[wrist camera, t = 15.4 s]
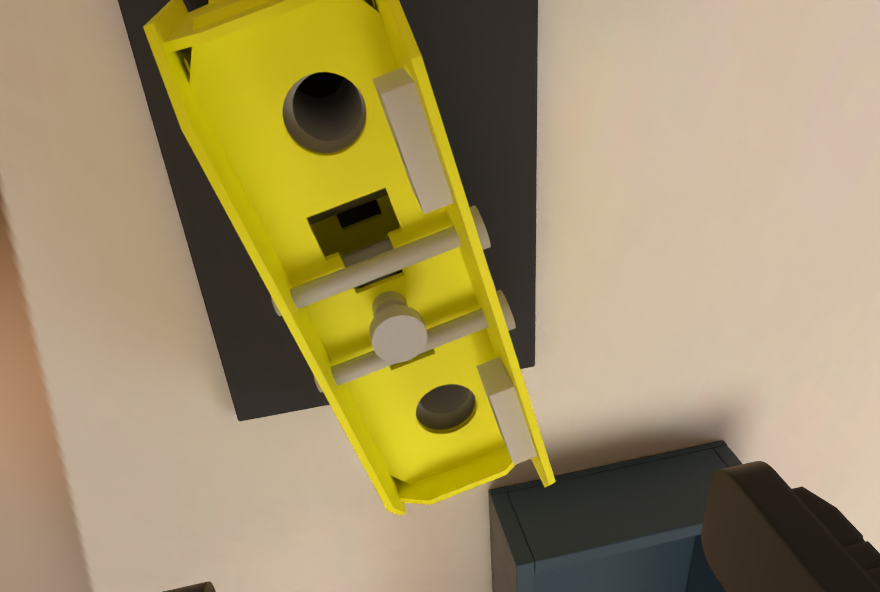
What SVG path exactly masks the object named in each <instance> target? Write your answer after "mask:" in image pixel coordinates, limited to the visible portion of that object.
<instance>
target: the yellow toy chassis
mask: <svg viewBox="0 0 880 592" xmlns="http://www.w3.org/2000/svg"><path fill="white" fill-rule="evenodd" d="M143 28H144V31H145V33H146V36H147V39H148V41H149V44H150V47H151V49H152V52H153V55H154V58H155V60H156V63H157V66H158V68H159V71H160V74H161V76H162V79H163V82H164V84H165V87H166V90H167V92H168V95H169V98H170V100H171V103H172V106H173V108H174V111H175V114H176V116H177V119H178V122H179V124H180V127H181V130H182V132H183V133H184V135H185V137H186V139H187V141H188V143H189V145H190V146H191V148H192V150H193V152H194V154H195V156H196V157H197V159H198V161H199V163H200V165H201V167H202V169H203V170H204V172H205V174H206V176H207V178H208V180H209V182H210V183H211V185H212V187H213V189H214V191H215V193H216V195H217V196H218V198H219V200H220V202H221V204H222V206H223V207H224V209H225V211H226V213H227V215H228V217H229V219H230V220H231V222H232V224H233V226H234V228H235V230H236V232H237V233H238V235H239V237H240V239H241V241H242V243H243V245H244V246H245V248H246V250H247V252H248V254H249V256H250V257H251V259H252V261H253V263H254V265H255V267H256V269H257V270H258V272H259V274H260V276H261V278H262V280H263V282H264V283H265V285H266V287H267V289H268V291H269V293H270V294H271V300H272V303H273V306H274V309H275V311H276V313H277V314H278V315H279V316H282V317H283V319H284V320H285V322H286V324H287V326H288V328H289V330H290V332H291V333H292V335H293V337H294V339H295V341H296V343H297V344H298V346H299V348H300V350H301V352H302V354H303V356H304V357H305V359H306V361H307V363H308V365H309V367H310V369H311V370H312V372H313V374H314V380H315V383H316V386H317V388H318V390H319V391H320V392H323V393H324V394H325V396H326V398H327V400H328V402H329V404H330V406H331V407H332V409H333V411H334V413H335V415H336V417H337V419H338V420H339V422H340V424H341V426H342V428H343V430H344V432H345V433H346V435H347V437H348V439H349V441H350V443H351V444H352V446H353V448H354V450H355V452H356V454H357V456H358V457H359V459H360V461H361V463H362V465H363V467H364V469H365V470H366V472H367V474H368V476H369V478H370V480H371V481H372V483H373V485H374V487H375V489H376V491H377V493H378V494H379V496H380V498H381V500H382V502H383V504H384V506H385V507H386V509H387V511H389V512H392V513H395V514H397V515H400V516H401V515H403V514H406V509H405V505H404V503H415V504H427V505H432V504H434V503H437V502H439V501H442V500H444V499H447V498H449V497H452V496H454V495H457V494H459V493H462V492H464V491H467V490H470V489H472V488H475V487H477V486H480V485H482V484H485V483H487V482H490V481H492V480H495V479H497V478H500V477H502V476H505V475H507V474H508V473H509V471H510V470H511V469H512V468H513V467H514V466H515V465H516V464H518V463H521V462H523V461H526V460H528V459H531V460H532V462H533V464H534V466H535V468H536V470H537V472H538V475H539V477H540V479H541V481H542V483H543V485H544V487H547V486H549V485H551V484H553V483H555V482H556V481H555V478H554V474H553V471H552V468H551V465H550V462H549V458H548V455H547V452H546V449H545V446H544V443H543V439H542V436H541V433H540V430H539V427H538V424H537V420H536V417H535V414H534V411H533V408H532V405H531V401H530V398H529V395H528V392H527V389H526V385H525V382H524V379H523V376H522V373H521V370H520V366H519V363H518V360H517V357H516V354H515V351H514V347H513V344H512V341H511V338H510V335H509V332H508V331H510V330H512V329H515V328H516V326H515V322H514V318H513V315H512V312H511V310H510V307H509V305H508V302H507V300H506V298H505V296H504V294H503V292H502V291H501V290H498V291H496V288H495V285H494V282H493V279H492V277H491V274H490V271H489V268H488V265H487V262H486V259H485V255H484V252H483V250H484V249H487V248H489V247H491V245H490V240H489V236H488V233H487V230H486V227H485V225H484V222H483V220H482V217H481V215H480V213H479V211H478V209H477V207H476V206H475V205H474V206H472V207H469V205H468V201H467V198H466V195H465V192H464V189H463V186H462V182H461V179H460V176H459V173H458V170H457V167H456V163H455V160H454V157H453V154H452V151H451V147H450V144H449V141H448V138H447V135H446V132H445V128H444V125H443V122H442V119H441V116H440V113H439V109H438V106H437V103H436V100H435V97H434V94H433V90H432V87H431V84H430V81H429V78H428V75H427V71H426V68H425V65H424V62H423V59H422V55H421V53H420V51H419V48H418V46H417V43H416V41H415V38H414V36H413V33H412V31H411V28H410V26H409V24H408V21H407V19H406V16H405V14H404V11H403V9H402V6H401V4H400V1H399V0H209V2H208V4H207V5H205V6H203V7H200V8H198V9H196V10H193V11H191V12H188V10H187V8H186V6H185V4H184V2H183V0H170V1H169V2H168V3H167V4H166V5H165V6H164V7H163V8H162V9H161V10H160V11H159V12H158V13H157V14H156V15H155V16H154V17H153V18H152V19H151V20H150V21H149V22H147V23H146V24H145V25H144V26H143ZM318 72H330V73H335V74H338V75H340V76H343V77H344V80H343V82H342V84H341V86H340V87H339V88H338V89H337V90H336V91H335V92H334V93H332V94H331V95H328V96H326V97H319V98H317V97H311V96H308V95H305V94H304V93H302V92H301V91H299V90H298V89H297V87H298V86H299V85H300V83H301V82H302V81H303V80H304V79H306V78H307V77H308V76H310V75H312V74H315V73H318ZM373 200H377V202H378V205H379V207H380V210H381V212H382V213H381V214H378V215H375V216H373V217H370V218H368V219H365V220H362V221H360V222H357V223H355V224H352V225H349V226H347V227H344V228H342V227H341V224H340V222H339V220H338V217H337V214H339V213H342V212H345V211H347V210H350V209H352V208H355V207H358V206H360V205H363V204H365V203H368V202H371V201H373ZM400 270H402V271H403V272H401V273H399V274H397V271H400Z"/></svg>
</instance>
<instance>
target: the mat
mask: <svg viewBox="0 0 880 592" xmlns="http://www.w3.org/2000/svg"><path fill="white" fill-rule="evenodd" d="M169 1H170V0H118V2H119V6H120V9H121V13H122V16H123V20H124V23H125V27H126V30H127V34H128V37H129V41H130V44H131V48H132V51H133V55H134V58H135V62H136V65H137V69H138V72H139V76H140V79H141V83H142V86H143V90H144V93H145V97H146V100H147V104H148V107H149V111H150V114H151V118H152V121H153V125H154V128H155V132H156V135H157V139H158V142H159V146H160V149H161V153H162V156H163V160H164V163H165V167H166V170H167V173H168V177H169V180H170V184H171V187H172V191H173V194H174V198H175V201H176V205H177V208H178V212H179V215H180V219H181V222H182V226H183V229H184V233H185V236H186V240H187V243H188V247H189V250H190V254H191V257H192V261H193V264H194V268H195V271H196V275H197V278H198V282H199V285H200V289H201V292H202V296H203V299H204V303H205V306H206V310H207V313H208V317H209V320H210V324H211V327H212V331H213V334H214V338H215V341H216V345H217V348H218V352H219V355H220V359H221V362H222V366H223V369H224V372H225V376H226V379H227V383H228V386H229V390H230V393H231V397H232V400H233V404H234V407H235V411H236V414H237V418H238V420H239V421H244V420H249V419H255V418H260V417H266V416H271V415H276V414H282V413H287V412H292V411H298V410H303V409H308V408H314V407H319V406H324V405H330V404H329V402H328V400H327V398H326V396H325V394H324V393H323V392H320V391H319V390H318V388H317V386H316V383H315V380H314V374H313V372H312V370H311V369H310V367H309V365H308V363H307V361H306V359H305V357H304V356H303V354H302V352H301V350H300V348H299V346H298V344H297V343H296V341H295V339H294V337H293V335H292V333H291V332H290V330H289V328H288V326H287V324H286V322H285V320H284V319H283V317H282V316H279V315H278V314H277V313H276V311H275V309H274V306H273V303H272V300H271V294H270V293H269V291H268V289H267V287H266V285H265V283H264V282H263V280H262V278H261V276H260V274H259V272H258V270H257V269H256V267H255V265H254V263H253V261H252V259H251V257H250V256H249V254H248V252H247V250H246V248H245V246H244V245H243V243H242V241H241V239H240V237H239V235H238V233H237V232H236V230H235V228H234V226H233V224H232V222H231V220H230V219H229V217H228V215H227V213H226V211H225V209H224V207H223V206H222V204H221V202H220V200H219V198H218V196H217V195H216V193H215V191H214V189H213V187H212V185H211V183H210V182H209V180H208V178H207V176H206V174H205V172H204V170H203V169H202V167H201V165H200V163H199V161H198V159H197V157H196V156H195V154H194V152H193V150H192V148H191V146H190V145H189V143H188V141H187V139H186V137H185V135H184V133H183V132H182V130H181V127H180V124H179V122H178V119H177V116H176V114H175V111H174V108H173V106H172V103H171V100H170V98H169V95H168V92H167V90H166V87H165V84H164V82H163V79H162V76H161V74H160V71H159V68H158V66H157V63H156V60H155V58H154V55H153V52H152V49H151V47H150V44H149V41H148V39H147V36H146V33H145V31H144V28H143V26H144V25H145V24H146V23H147V22H149V21H150V20H151V19H152V18H153V17H154V16H155V15H156V14H157V13H158V12H159V11H160V10H161V9H162V8H163V7H164V6H165V5H166V4H167V3H168V2H169ZM399 1H400V4H401V6H402V9H403V11H404V14H405V16H406V19H407V21H408V24H409V26H410V28H411V31H412V33H413V36H414V38H415V41H416V43H417V46H418V48H419V51H420V53H421V55H422V59H423V62H424V65H425V68H426V71H427V75H428V78H429V81H430V84H431V87H432V90H433V94H434V97H435V100H436V103H437V106H438V109H439V113H440V116H441V119H442V122H443V125H444V128H445V132H446V135H447V138H448V141H449V144H450V147H451V151H452V154H453V157H454V160H455V163H456V167H457V170H458V173H459V176H460V179H461V182H462V186H463V189H464V192H465V195H466V198H467V201H468V205H469V207H472V206H474V205H475V206H476V207H477V209H478V211H479V213H480V215H481V217H482V220H483V222H484V225H485V227H486V230H487V233H488V236H489V240H490V245H491V247H489V248H487V249H484V250H483V252H484V255H485V259H486V262H487V265H488V268H489V271H490V274H491V277H492V279H493V282H494V285H495V288H496V291H498V290H501V291H502V292H503V294H504V296H505V298H506V300H507V302H508V305H509V307H510V310H511V312H512V315H513V318H514V322H515V326H516V328H515V329H512V330H510V331H508V332H509V335H510V338H511V341H512V344H513V347H514V351H515V354H516V357H517V360H518V363H519V366H520V369H523V368H528V367H533V366H535V278H536V159H537V41H538V0H399ZM183 2H184V4H185V6H186V8H187V10H188V12H191V11H193V10H196V9H198V8H200V7H203V6H205V5H207V4H208V2H209V0H183ZM343 80H344V77H343V76H340V75H338V74H335V73H330V72H318V73H315V74H312V75H310V76H308V77H307V78H306V79H304V80H303V81H302V82H301V83H300V85H299V86H298V87H297V89H298V90H299V91H301V92H302V93H304V94H305V95H308V96H311V97H317V98H319V97H326V96H328V95H331V94H332V93H334V92H335V91H336V90H337V89H338V88H339V87H340V86H341V84H342V82H343ZM381 213H382V212H381V210H380V207H379V205H378V202H377V200H373V201H371V202H368V203H365V204H363V205H360V206H358V207H355V208H352V209H350V210H347V211H345V212H342V213H339V214H337V217H338V220H339V222H340V224H341V227H342V228H344V227H347V226H349V225H352V224H355V223H357V222H360V221H362V220H365V219H368V218H370V217H373V216H375V215H378V214H381ZM401 272H403V271H402V270H400V271H397V274H399V273H401Z"/></svg>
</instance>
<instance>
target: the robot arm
mask: <svg viewBox="0 0 880 592" xmlns="http://www.w3.org/2000/svg"><path fill="white" fill-rule="evenodd" d="M701 540H702V546H703V550H704V554H705V557H706V559H707V562H708V564H709V566H710V568H711V570H712V571H713V573H714V574H715V576H716V577H717V579H718V580H719V582H720V583H721V585H722V586H723V588H724V589H725V591H726V592H880V553H879V552H878V551H877V550H876V549H875V548H874V547H873V546H872V545H871V544H870V543H869V542H868V541H867V542H865V541H864V539H863V535H862V534H861V533H860V532H859V531H858V530H857V529H856V528H855V527H854V526H853V525H852V524H851V523H850V522H849V521H848V520H847V519H846V517H845V516H844V515H843V514H842V513H841V512H840V511H839V510H838V509H837V508H836V507H834V506H833V505H831V504H829V503H828V502H826V501H825V500H823V499H821V498H820V497H818V496H817V495H815V494H813V493H812V492H810V491H809V490H807V489H805V488H804V487H799V488H794V489H791V488H790V487H789V486H788V485H787V484H786V482H785V481H784V480H783V479H782V478H781V477H780V476H779V475H778V474H777V472H776V471H775V470H774V469H773V468H772V467H771V466H769V465H768V464H767V463H765V462H762V461H756V462H751V463H747V464H742V465H738V466H734V467H729V468H725V469H720V470H717V471H715V472H714V473H713V475H712V478H711V483H710V488H709V494H708V499H707V504H706V509H705V515H704V520H703V525H702V531H701ZM164 592H215V589H214V587H213V585H212V583H211V582H204V583H200V584H195V585H191V586H186V587H182V588H177V589H173V590H168V591H164Z"/></svg>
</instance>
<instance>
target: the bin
mask: <svg viewBox="0 0 880 592" xmlns="http://www.w3.org/2000/svg"><path fill="white" fill-rule="evenodd" d="M738 465H742V463H741V461H740V460H739V459H738V458H737V457H736V456H735V454H734V453H733V452H732V451H731V450H730V448H729V447H728V446H727V444H726V443H725V442H724V441H719V442H715V443H710V444H705V445H700V446H696V447H691V448H686V449H682V450H677V451H672V452H668V453H663V454H658V455H654V456H649V457H644V458H639V459H635V460H630V461H625V462H621V463H616V464H611V465H607V466H602V467H597V468H592V469H588V470H583V471H578V472H574V473H569V474H564V475H560V476H555V477H554V478H555V481H556V482H555V483H553V484H551V485H549V486H547V487H544V485H543V483H542V481H541V480H536V481H531V482H527V483H522V484H517V485H513V486H508V487H503V488H499V489H494V490H489V514H490V539H491V564H492V589H493V592H726V591H725V589H724V588H723V586H722V585H721V583H720V582H719V580H718V579H717V577H716V576H715V574H714V573H713V571H712V570H711V568H710V566H709V564H708V562H707V559H706V557H705V554H704V550H703V546H702V540H701V531H702V525H703V520H704V515H705V509H706V504H707V499H708V494H709V488H710V483H711V478H712V475H713V473H714V472H715V471H717V470H720V469H725V468H729V467H734V466H738Z"/></svg>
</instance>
